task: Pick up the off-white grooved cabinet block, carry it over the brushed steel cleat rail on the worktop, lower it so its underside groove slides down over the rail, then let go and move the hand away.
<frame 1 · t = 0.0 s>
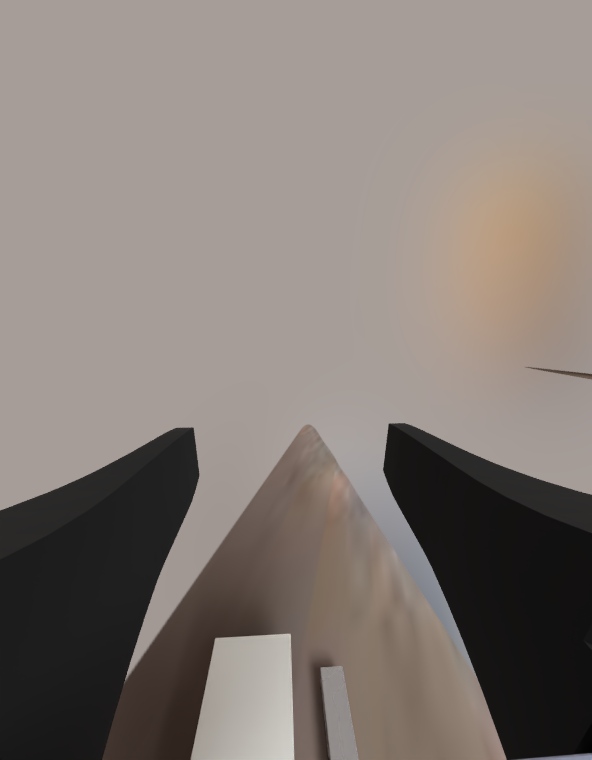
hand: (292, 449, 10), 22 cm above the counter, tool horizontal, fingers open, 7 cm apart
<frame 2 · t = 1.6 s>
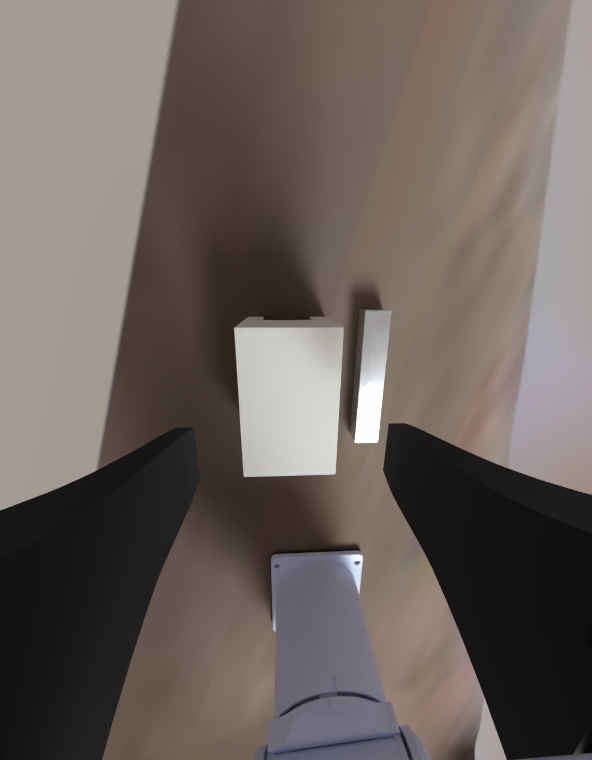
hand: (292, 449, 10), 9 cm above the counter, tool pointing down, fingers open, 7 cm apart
cleat rail: (365, 374, 19), on the counter
cabinet block: (287, 375, 19), on the counter
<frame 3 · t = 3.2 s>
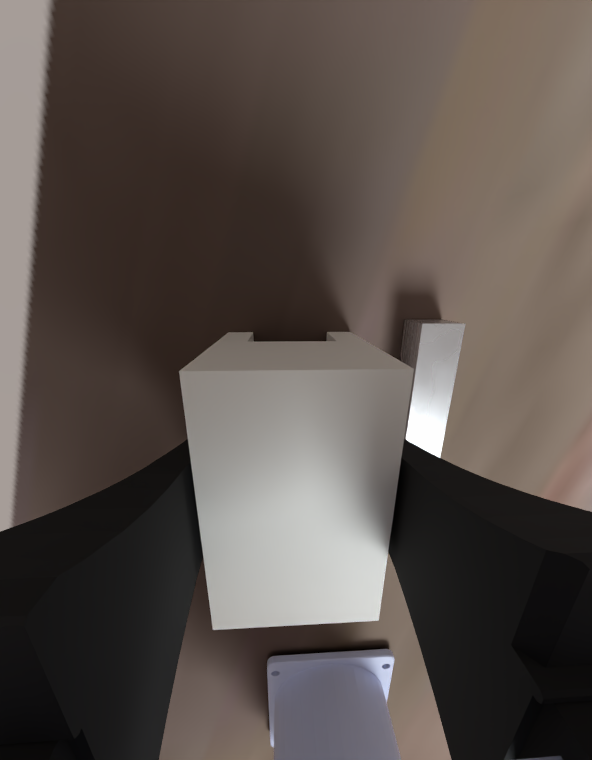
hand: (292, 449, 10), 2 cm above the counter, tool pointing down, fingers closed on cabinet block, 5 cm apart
cleat rail: (409, 418, 13), on the counter
cabinet block: (290, 420, 12), on the counter, touching gripper
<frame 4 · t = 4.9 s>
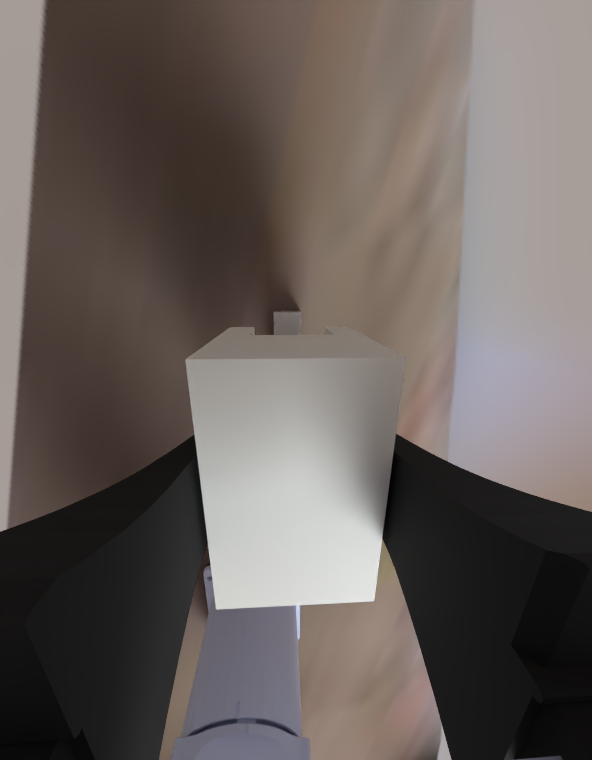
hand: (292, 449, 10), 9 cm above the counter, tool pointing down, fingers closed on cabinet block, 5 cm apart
cleat rail: (287, 379, 18), on the counter
cabinet block: (290, 413, 13), point 6 cm above the counter, touching gripper
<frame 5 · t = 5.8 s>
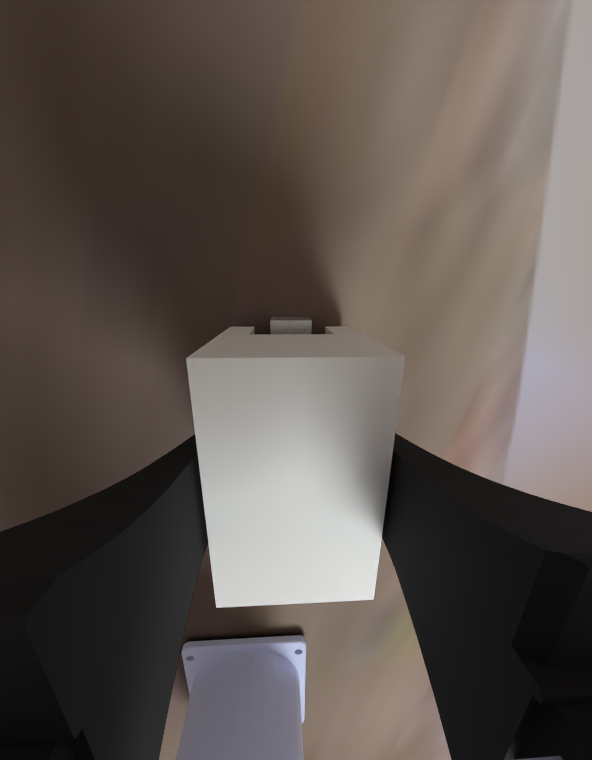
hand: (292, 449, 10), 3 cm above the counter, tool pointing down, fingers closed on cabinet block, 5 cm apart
cleat rail: (290, 411, 13), on the counter
cabinet block: (290, 412, 13), on the counter, touching gripper
when the fingers open (3 cm above the counter, at t = 6.5 s): cabinet block stays where it is, on the counter.
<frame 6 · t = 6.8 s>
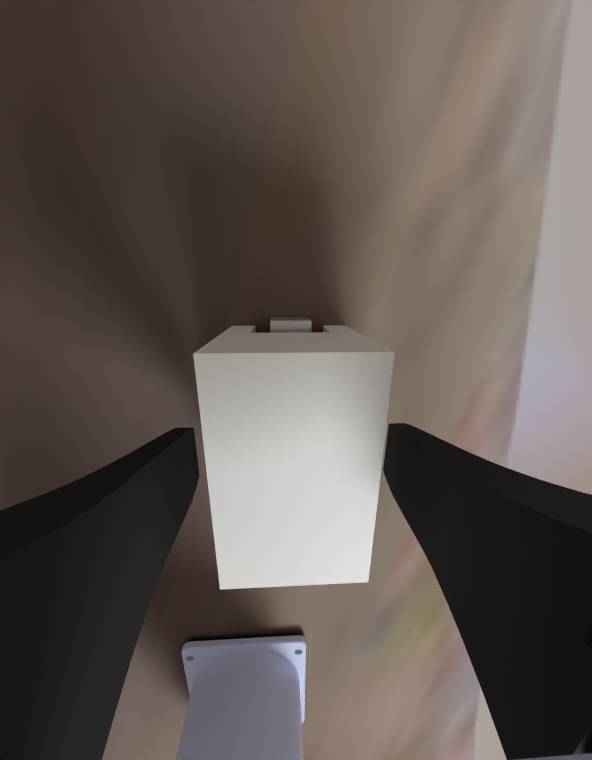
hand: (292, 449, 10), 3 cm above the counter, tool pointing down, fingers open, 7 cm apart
cleat rail: (290, 411, 13), on the counter
cabinet block: (289, 408, 13), on the counter
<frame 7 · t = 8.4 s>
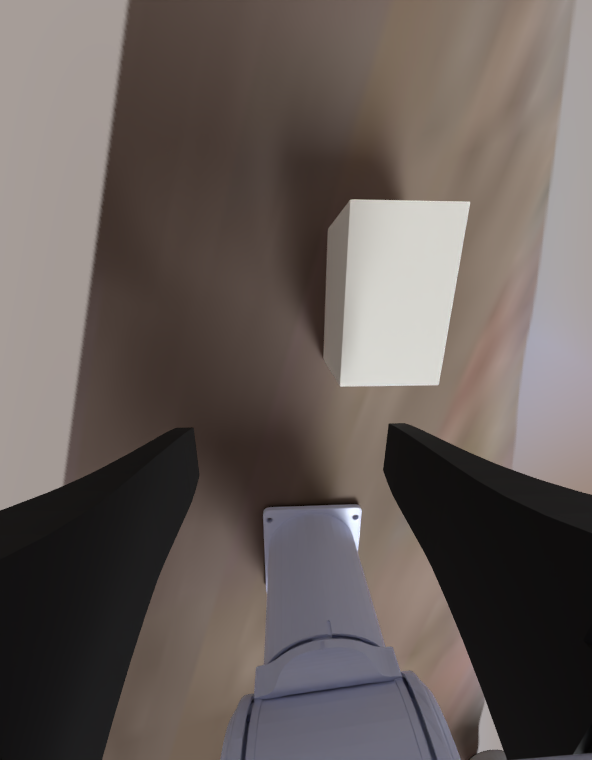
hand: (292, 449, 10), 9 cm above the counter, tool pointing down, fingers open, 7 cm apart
cabinet block: (363, 298, 18), on the counter
coffee cup: (487, 758, 38), on the counter
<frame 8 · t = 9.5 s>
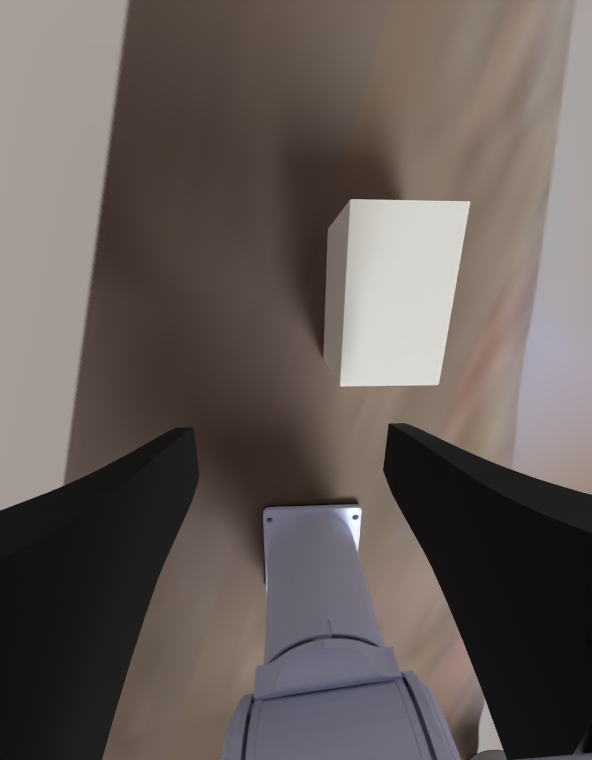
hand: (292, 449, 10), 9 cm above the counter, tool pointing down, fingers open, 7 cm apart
cabinet block: (363, 298, 18), on the counter
coffee cup: (487, 758, 38), on the counter
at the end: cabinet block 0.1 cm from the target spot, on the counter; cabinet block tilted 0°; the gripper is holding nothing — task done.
